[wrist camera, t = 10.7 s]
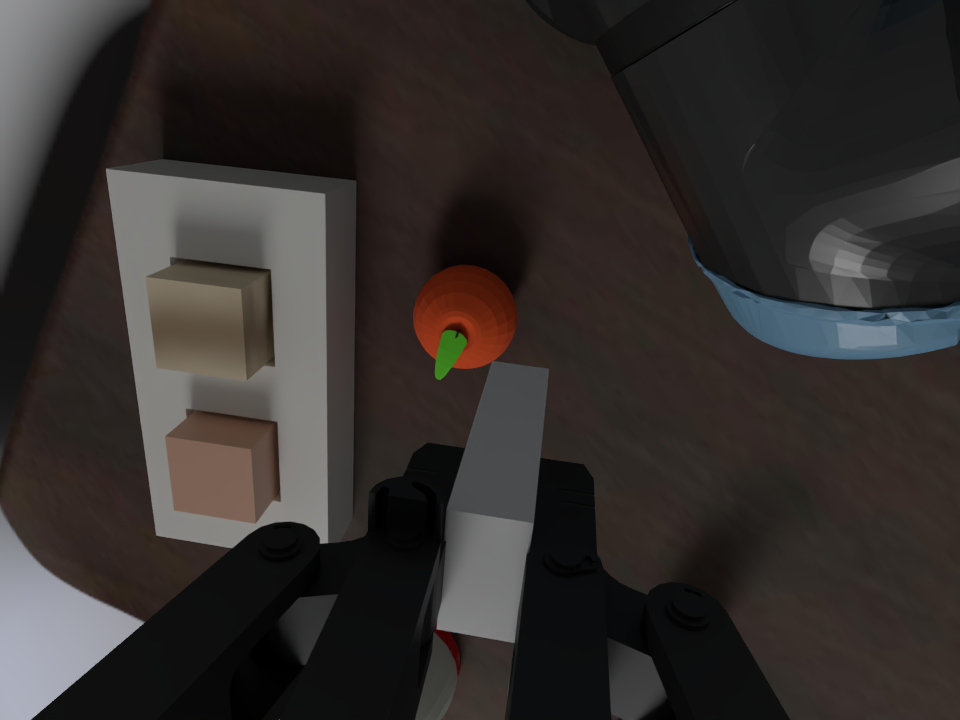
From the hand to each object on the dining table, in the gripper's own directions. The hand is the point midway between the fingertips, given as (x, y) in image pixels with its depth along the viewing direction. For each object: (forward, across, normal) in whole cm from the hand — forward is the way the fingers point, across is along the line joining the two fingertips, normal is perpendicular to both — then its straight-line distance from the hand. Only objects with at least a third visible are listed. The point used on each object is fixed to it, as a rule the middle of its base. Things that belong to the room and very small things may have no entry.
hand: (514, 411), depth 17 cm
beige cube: (+25, -20, -7) cm, 33 cm away
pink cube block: (+25, -20, -18) cm, 37 cm away
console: (+28, -20, -13) cm, 37 cm away
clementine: (+29, -5, -7) cm, 30 cm away
